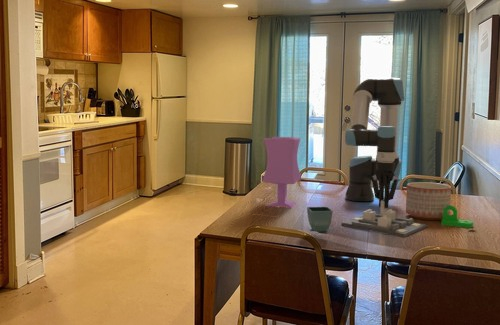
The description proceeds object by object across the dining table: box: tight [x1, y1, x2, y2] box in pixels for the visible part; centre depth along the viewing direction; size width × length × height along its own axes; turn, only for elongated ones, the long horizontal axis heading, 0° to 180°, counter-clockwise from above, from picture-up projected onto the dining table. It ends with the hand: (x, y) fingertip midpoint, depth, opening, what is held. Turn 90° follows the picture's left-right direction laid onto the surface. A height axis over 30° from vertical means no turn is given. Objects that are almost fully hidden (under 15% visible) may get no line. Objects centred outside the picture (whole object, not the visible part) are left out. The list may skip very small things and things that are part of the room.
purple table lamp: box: [262, 136, 302, 209], centre depth 241 cm, size 16×16×35 cm
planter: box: [405, 181, 452, 221], centre depth 220 cm, size 19×19×15 cm
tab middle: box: [362, 208, 377, 221], centre depth 206 cm, size 4×4×5 cm
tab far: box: [383, 208, 397, 220], centre depth 207 cm, size 4×4×5 cm
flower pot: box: [306, 206, 334, 233], centre depth 193 cm, size 9×9×9 cm
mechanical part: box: [440, 204, 474, 229], centre depth 205 cm, size 12×6×8 cm, turn 60°
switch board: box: [340, 214, 428, 238], centre depth 201 cm, size 28×22×3 cm
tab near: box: [378, 215, 392, 228], centre depth 194 cm, size 4×4×5 cm
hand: (383, 214), depth 209 cm, fingers closed
